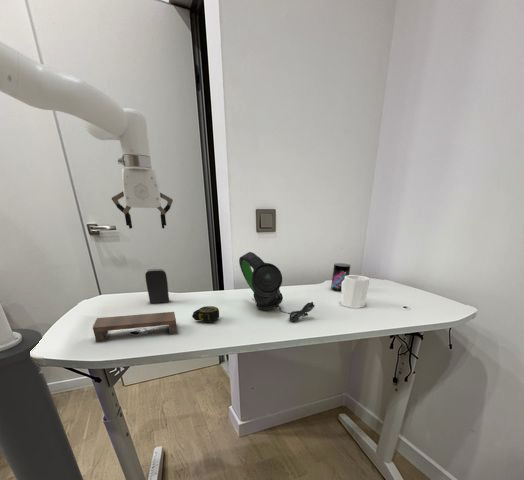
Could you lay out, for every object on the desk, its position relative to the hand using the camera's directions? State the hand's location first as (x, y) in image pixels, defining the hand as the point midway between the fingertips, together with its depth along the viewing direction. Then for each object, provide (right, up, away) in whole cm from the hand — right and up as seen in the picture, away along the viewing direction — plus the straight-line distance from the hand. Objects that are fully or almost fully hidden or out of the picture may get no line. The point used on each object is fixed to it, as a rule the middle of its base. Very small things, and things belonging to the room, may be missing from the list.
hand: (147, 228), depth 92 cm
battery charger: (0, -21, +12) cm, 25 cm away
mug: (+69, -21, +17) cm, 74 cm away
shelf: (+3, -34, -12) cm, 36 cm away
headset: (+40, -25, +8) cm, 47 cm away
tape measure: (+19, -30, -3) cm, 35 cm away
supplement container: (+69, -13, +33) cm, 78 cm away
